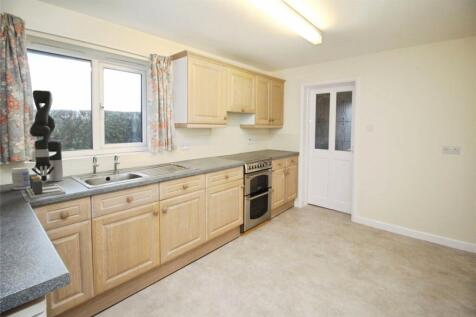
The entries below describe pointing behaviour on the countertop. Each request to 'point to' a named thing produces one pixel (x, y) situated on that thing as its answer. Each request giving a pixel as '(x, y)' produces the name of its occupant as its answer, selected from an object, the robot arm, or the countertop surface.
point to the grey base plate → (43, 188)
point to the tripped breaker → (33, 179)
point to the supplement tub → (20, 178)
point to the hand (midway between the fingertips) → (44, 181)
